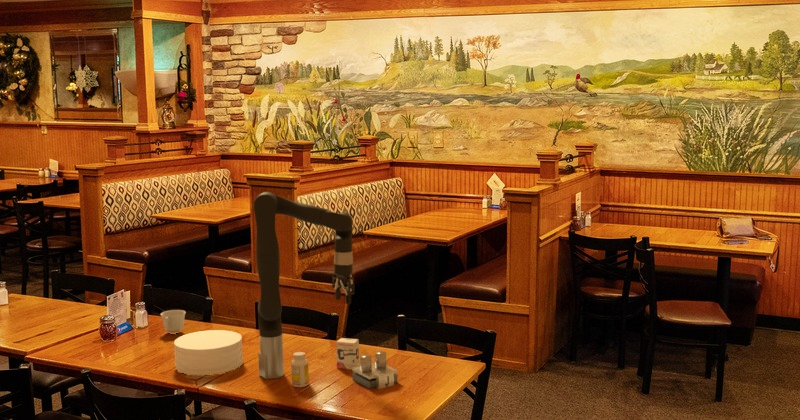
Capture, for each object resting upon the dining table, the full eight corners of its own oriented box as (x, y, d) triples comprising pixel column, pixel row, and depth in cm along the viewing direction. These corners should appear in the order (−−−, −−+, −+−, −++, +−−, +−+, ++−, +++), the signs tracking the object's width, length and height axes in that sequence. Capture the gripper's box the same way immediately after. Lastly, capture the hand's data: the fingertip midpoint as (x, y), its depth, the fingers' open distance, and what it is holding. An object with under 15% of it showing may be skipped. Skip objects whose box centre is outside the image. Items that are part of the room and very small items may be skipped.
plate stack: (162, 366, 359) (161, 340, 357) (217, 351, 379) (216, 326, 377) (200, 381, 340) (198, 353, 338) (256, 364, 360) (255, 338, 358)
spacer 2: (379, 369, 334) (379, 355, 333) (373, 366, 338) (373, 352, 337) (388, 367, 336) (388, 353, 336) (382, 364, 340) (382, 350, 339)
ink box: (336, 368, 352) (335, 341, 351) (340, 364, 357) (340, 337, 355) (355, 370, 350) (355, 342, 348) (359, 366, 354) (359, 339, 353)
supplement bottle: (306, 381, 337) (305, 350, 336) (310, 386, 331) (309, 355, 329) (290, 383, 335) (289, 352, 333) (293, 388, 329) (292, 357, 327)
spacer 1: (364, 373, 330) (363, 358, 329) (358, 370, 334) (358, 355, 333) (373, 371, 332) (373, 356, 332) (367, 368, 336) (367, 353, 335)
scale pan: (369, 381, 327) (369, 376, 326) (352, 372, 337) (352, 367, 337) (397, 375, 334) (397, 370, 334) (379, 366, 345) (379, 361, 344)
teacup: (154, 338, 400) (153, 317, 398) (168, 329, 414) (166, 309, 413) (178, 338, 398) (177, 318, 396) (191, 329, 412) (190, 310, 411)
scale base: (372, 390, 325) (372, 378, 325) (352, 380, 338) (352, 368, 337) (400, 383, 332) (400, 371, 332) (379, 373, 345) (379, 361, 344)
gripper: (326, 260, 343) (326, 299, 345) (343, 266, 331) (343, 306, 333) (342, 258, 347) (342, 296, 349) (360, 264, 335) (360, 304, 337)
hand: (343, 301), depth 341 cm, fingers open, 8 cm apart
